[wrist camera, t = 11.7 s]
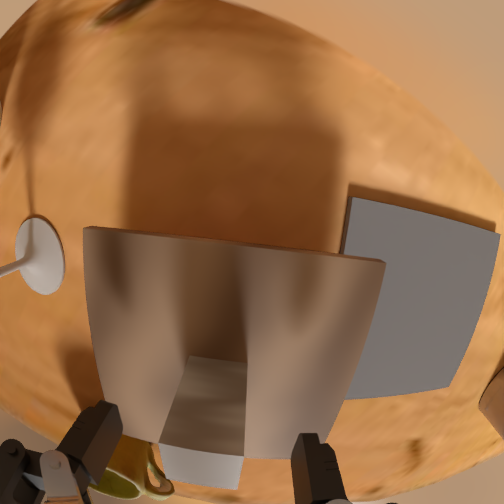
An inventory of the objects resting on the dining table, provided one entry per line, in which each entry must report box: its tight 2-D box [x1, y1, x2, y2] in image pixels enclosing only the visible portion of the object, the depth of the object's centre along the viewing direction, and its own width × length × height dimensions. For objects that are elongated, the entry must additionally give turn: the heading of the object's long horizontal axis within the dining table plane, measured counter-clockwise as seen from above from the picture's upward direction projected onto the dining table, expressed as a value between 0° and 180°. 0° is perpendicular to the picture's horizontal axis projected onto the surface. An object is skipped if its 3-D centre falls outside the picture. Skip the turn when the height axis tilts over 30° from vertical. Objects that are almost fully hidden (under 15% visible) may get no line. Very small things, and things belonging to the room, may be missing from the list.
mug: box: [88, 434, 175, 501], centre depth 20 cm, size 12×10×10 cm
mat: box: [340, 197, 501, 400], centre depth 20 cm, size 17×17×1 cm
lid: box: [83, 226, 387, 490], centre depth 11 cm, size 15×15×7 cm
